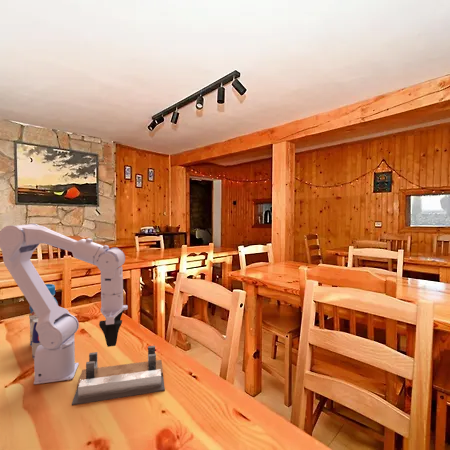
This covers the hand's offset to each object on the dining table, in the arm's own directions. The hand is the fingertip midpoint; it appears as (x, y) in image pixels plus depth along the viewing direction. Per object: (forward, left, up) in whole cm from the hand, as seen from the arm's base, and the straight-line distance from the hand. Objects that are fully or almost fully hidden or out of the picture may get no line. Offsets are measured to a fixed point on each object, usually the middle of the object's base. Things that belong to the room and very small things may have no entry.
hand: (113, 339), depth 80 cm
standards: (+3, -1, -10) cm, 11 cm away
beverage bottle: (-24, +25, -11) cm, 37 cm away
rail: (+3, -8, -10) cm, 13 cm away
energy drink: (-22, +16, -11) cm, 30 cm away
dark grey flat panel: (+3, -8, -10) cm, 13 cm away
